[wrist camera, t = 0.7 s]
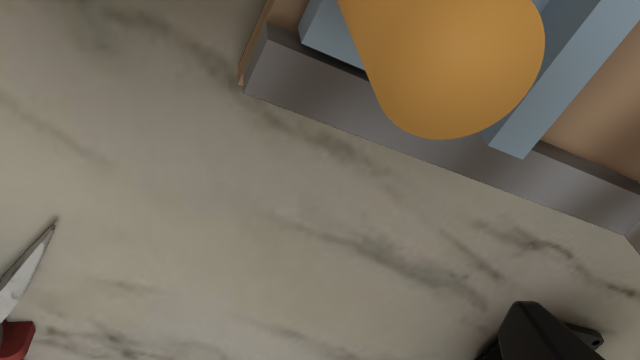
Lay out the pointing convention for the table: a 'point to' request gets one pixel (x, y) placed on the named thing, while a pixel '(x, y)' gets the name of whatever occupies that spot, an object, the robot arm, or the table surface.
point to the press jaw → (472, 59)
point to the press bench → (580, 119)
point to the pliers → (8, 294)
